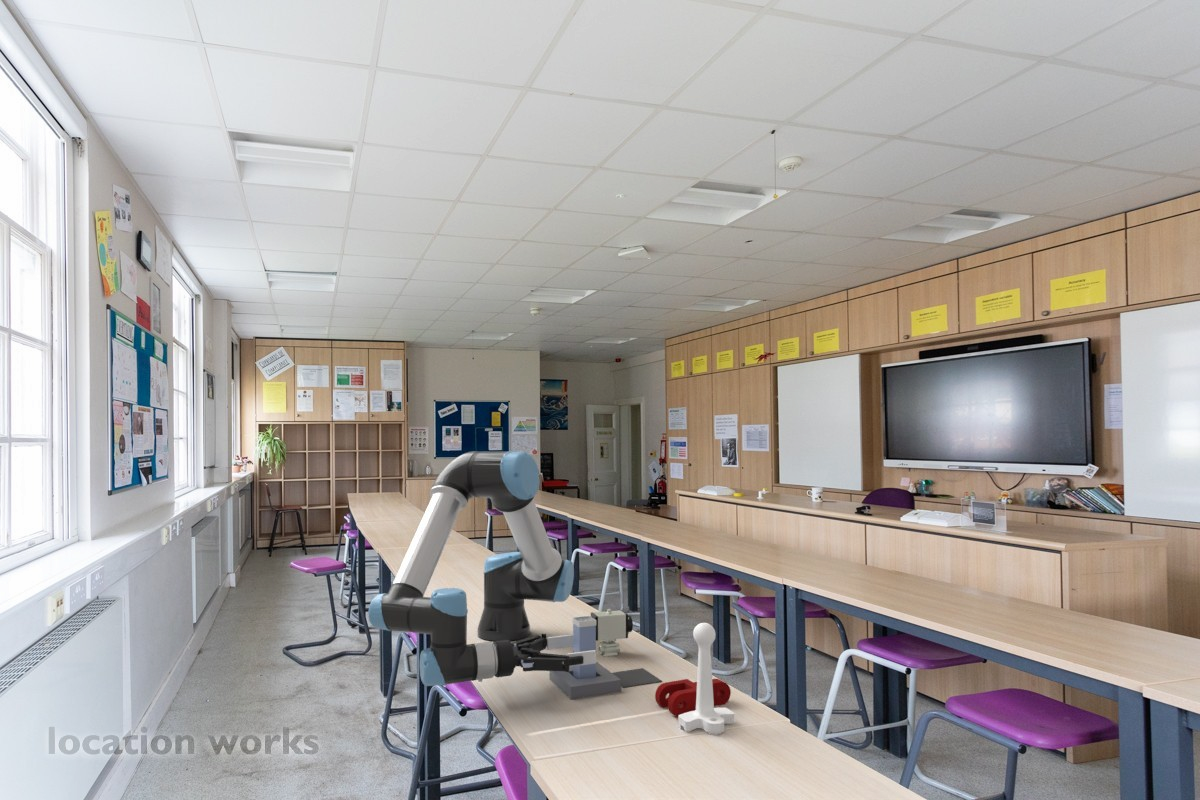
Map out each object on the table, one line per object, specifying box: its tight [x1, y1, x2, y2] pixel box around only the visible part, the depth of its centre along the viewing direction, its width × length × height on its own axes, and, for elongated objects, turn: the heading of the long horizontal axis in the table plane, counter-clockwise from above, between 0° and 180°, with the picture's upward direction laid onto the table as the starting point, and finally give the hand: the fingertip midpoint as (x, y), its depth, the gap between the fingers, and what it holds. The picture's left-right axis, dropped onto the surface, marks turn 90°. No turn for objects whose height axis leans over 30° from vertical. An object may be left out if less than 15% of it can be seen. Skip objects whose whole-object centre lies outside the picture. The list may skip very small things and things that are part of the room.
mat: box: [612, 667, 663, 689], centre depth 169 cm, size 10×10×1 cm
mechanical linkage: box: [654, 678, 732, 719], centre depth 152 cm, size 16×7×5 cm, turn 115°
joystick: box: [677, 622, 735, 735], centre depth 141 cm, size 11×8×20 cm
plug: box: [572, 615, 597, 679], centre depth 164 cm, size 4×4×15 cm
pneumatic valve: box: [589, 608, 634, 657], centre depth 188 cm, size 6×12×12 cm, turn 107°
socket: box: [549, 661, 622, 700], centre depth 164 cm, size 14×12×3 cm
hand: (584, 648), depth 164 cm, fingers open, 13 cm apart
